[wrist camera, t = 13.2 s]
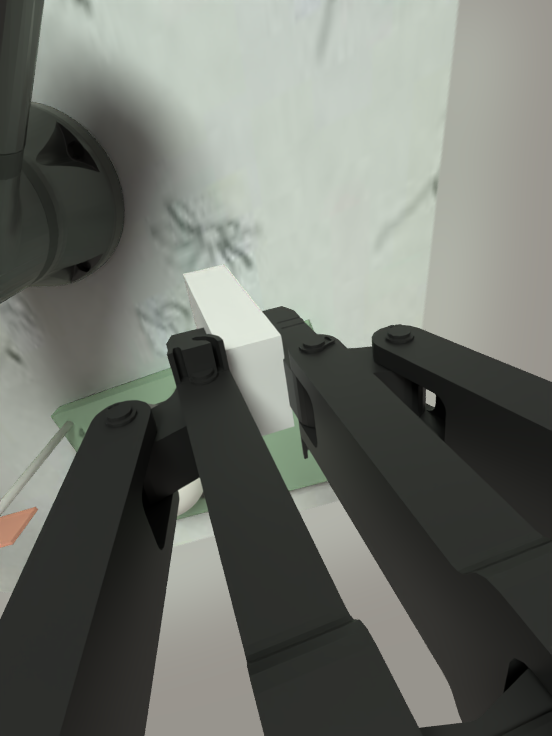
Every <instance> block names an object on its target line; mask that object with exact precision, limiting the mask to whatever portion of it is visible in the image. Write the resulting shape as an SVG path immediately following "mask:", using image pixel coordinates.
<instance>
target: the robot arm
mask: <svg viewBox="0 0 552 736" xmlns="http://www.w3.org/2000/svg"><path fill="white" fill-rule="evenodd" d="M43 6H44V0H0V303H2V302H4V301H5V300H7V299H8V298H10V297H12V296H13V295H15V294H17V293H18V292H20V291H22V290H23V289H25V288H26V287H41V286H61V285H66V284H70V283H73V282H76V281H78V280H81V279H83V278H85V277H86V276H88V275H89V274H91V273H92V272H94V271H95V270H97V269H98V268H99V267H101V266H102V265H103V264H104V263H105V262H106V261H107V260H108V259H109V258H110V256H111V255H112V254H113V252H114V251H115V249H116V247H117V245H118V243H119V240H120V237H121V234H122V230H123V224H124V201H123V195H122V190H121V186H120V183H119V180H118V177H117V174H116V172H115V169H114V167H113V165H112V163H111V161H110V160H109V158H108V156H107V155H106V153H105V152H104V150H103V149H102V147H101V146H100V145H99V143H98V142H97V141H96V140H95V138H94V137H93V136H92V135H91V134H90V133H89V132H88V131H87V130H86V129H85V128H84V127H82V126H81V125H80V124H79V123H78V122H76V121H75V120H73V119H72V118H71V117H69V116H67V115H66V114H64V113H62V112H60V111H58V110H56V109H54V108H52V107H49V106H46V105H43V104H39V103H35V102H31V98H32V91H33V83H34V75H35V68H36V60H37V52H38V45H39V37H40V29H41V22H42V14H43ZM183 276H184V280H185V284H186V288H187V292H188V296H189V300H190V304H191V308H192V312H193V316H194V320H195V324H196V328H197V329H195V330H191V331H188V332H184V333H180V334H176V335H172V336H171V337H170V339H169V341H168V342H167V344H166V345H167V349H168V352H167V356H168V359H169V363H170V366H171V370H172V373H173V377H174V380H175V384H176V389H175V391H174V393H173V394H172V395H171V396H170V397H169V398H168V399H167V400H166V401H164V402H163V403H161V404H159V405H157V406H155V407H153V408H151V407H150V406H149V405H148V404H147V403H146V402H143V401H139V400H127V401H123V402H117V403H115V404H113V405H110V406H108V407H106V408H105V409H103V410H102V411H101V412H99V413H98V414H97V415H96V416H95V417H94V419H93V420H92V421H91V423H90V425H89V427H88V429H87V432H86V434H85V436H84V438H83V440H82V443H81V445H80V447H79V449H78V451H77V453H76V456H75V458H74V460H73V462H72V464H71V466H70V469H69V471H68V473H67V475H66V477H65V479H64V482H63V484H62V486H61V488H60V490H59V493H58V495H57V497H56V499H55V501H54V503H53V506H52V508H51V510H50V512H49V514H48V516H47V519H46V521H45V523H44V525H43V527H42V530H41V532H40V534H39V536H38V538H37V540H36V543H35V545H34V547H33V549H32V551H31V553H30V556H29V558H28V560H27V562H26V564H25V566H24V569H23V571H22V573H21V575H20V577H19V580H18V582H17V584H16V586H15V588H14V590H13V593H12V595H11V597H10V599H9V602H8V604H7V606H6V608H5V610H4V612H3V615H2V617H1V619H0V736H144V735H145V728H146V721H147V715H148V708H149V701H150V695H151V688H152V681H153V675H154V668H155V661H156V655H157V648H158V641H159V634H160V627H161V620H162V613H163V607H164V601H165V594H166V586H167V581H168V574H169V567H170V560H171V553H172V547H173V540H174V534H175V527H176V520H177V513H178V507H179V500H180V499H179V492H178V490H179V489H181V488H183V487H185V486H186V485H188V484H190V483H191V482H193V481H195V480H196V479H198V478H200V481H201V485H202V488H203V492H204V496H205V500H206V504H207V508H208V512H209V516H210V520H211V523H212V527H213V531H214V535H215V538H216V543H217V546H218V551H219V555H220V558H221V562H222V566H223V570H224V574H225V577H226V581H227V585H228V589H229V593H230V597H231V601H232V605H233V609H234V613H235V616H236V621H237V625H238V628H239V632H240V636H241V640H242V644H243V648H244V652H245V656H246V660H247V668H248V672H249V677H250V681H251V685H252V689H253V693H254V696H255V700H256V705H257V709H258V712H259V716H260V720H261V724H262V728H263V732H264V736H552V382H550V381H548V380H545V379H543V378H540V377H538V376H535V375H533V374H531V373H528V372H526V371H523V370H521V369H518V368H515V367H513V366H511V365H508V364H506V363H503V362H501V361H498V360H496V359H494V358H491V357H489V356H486V355H484V354H481V353H479V352H476V351H474V350H471V349H469V348H466V347H464V346H462V345H459V344H457V343H454V342H452V341H449V340H447V339H444V338H442V337H439V336H437V335H434V334H432V333H429V332H427V331H425V330H422V329H420V328H416V327H413V326H406V325H400V324H399V325H395V326H394V325H391V326H388V327H385V328H382V329H380V330H378V331H376V332H375V333H374V334H373V336H372V347H362V348H346V347H345V346H344V345H343V344H342V343H341V342H340V341H339V340H338V339H336V338H335V337H333V336H329V335H324V334H316V333H315V332H314V331H313V330H312V329H311V328H310V327H309V326H308V325H307V324H306V323H305V322H304V321H303V319H302V318H300V316H299V315H298V314H297V313H296V312H295V311H294V310H291V309H289V308H286V307H283V306H281V307H277V308H273V309H269V310H265V311H261V310H260V308H259V307H258V306H257V305H256V303H255V302H254V301H253V300H252V298H251V297H250V296H249V295H248V293H247V292H246V291H245V290H244V288H243V287H242V286H241V285H240V283H239V282H238V281H237V280H236V278H235V277H234V276H233V275H232V273H231V272H230V271H229V270H228V268H227V267H226V266H225V265H220V266H215V267H211V268H207V269H202V270H198V271H194V272H189V273H185V274H183ZM426 389H427V390H429V391H431V392H433V393H435V394H436V405H435V407H432V406H430V405H428V404H426ZM292 410H293V412H294V413H295V415H296V416H297V418H298V422H299V429H300V436H301V443H302V450H303V456H304V459H307V458H308V450H310V452H311V454H312V455H313V457H314V459H315V460H316V462H317V464H318V465H319V467H320V469H321V470H322V472H323V474H324V475H325V477H326V479H327V480H328V482H329V484H330V485H331V487H332V489H333V490H334V492H335V494H336V495H337V497H338V499H339V500H340V502H341V504H342V505H343V507H344V509H345V510H346V512H347V514H348V515H349V517H350V518H351V520H352V522H353V524H354V525H355V527H356V529H357V530H358V532H359V534H360V535H361V537H362V539H363V540H364V542H365V544H366V545H367V547H368V549H369V550H370V552H371V554H372V555H373V557H374V559H375V560H376V562H377V564H378V565H379V567H380V569H381V570H382V572H383V574H384V575H385V577H386V579H387V580H388V582H389V583H390V585H391V587H392V589H393V590H394V592H395V594H396V595H397V597H398V599H399V600H400V602H401V604H402V605H403V607H404V609H405V610H406V612H407V614H408V615H409V617H410V619H411V620H412V622H413V624H414V625H415V627H416V629H417V630H418V632H419V634H420V635H421V637H422V639H423V640H424V642H425V644H426V645H427V647H428V649H429V650H430V652H431V654H432V655H433V657H434V659H435V660H436V662H437V664H438V665H439V667H440V668H441V670H442V672H443V673H444V675H445V677H446V679H447V681H448V683H449V685H450V688H451V690H452V693H453V696H454V699H455V703H456V706H457V709H458V713H459V715H460V718H461V720H462V723H457V724H449V725H440V726H431V727H423V728H419V727H418V726H417V723H416V721H415V719H414V717H413V715H412V714H411V712H410V710H409V708H408V706H407V704H406V702H405V700H404V698H403V696H402V694H401V692H400V690H399V688H398V686H397V684H396V682H395V680H394V679H393V676H392V674H391V673H390V671H389V669H388V667H387V665H386V663H385V661H384V659H383V657H382V655H381V653H380V651H379V649H378V647H377V645H376V643H375V642H374V640H373V638H372V636H371V635H370V633H369V631H368V629H367V628H366V627H365V625H364V624H363V623H362V622H361V621H360V620H356V619H355V620H354V619H353V618H352V617H351V616H350V614H349V612H348V611H347V609H346V607H345V605H344V603H343V601H342V599H341V597H340V595H339V593H338V591H337V589H336V586H335V584H334V582H333V580H332V578H331V576H330V574H329V572H328V570H327V568H326V566H325V564H324V562H323V560H322V558H321V556H320V554H319V552H318V550H317V548H316V546H315V544H314V541H313V539H312V538H311V535H310V533H309V531H308V529H307V527H306V525H305V523H304V521H303V519H302V517H301V515H300V513H299V511H298V509H297V507H296V505H295V503H294V501H293V498H292V496H291V494H290V492H289V490H288V488H287V486H286V484H285V482H284V480H283V478H282V476H281V474H280V472H279V470H278V468H277V466H276V464H275V462H274V460H273V458H272V456H271V453H270V451H269V449H268V447H267V445H266V443H265V441H264V439H263V437H262V436H265V435H268V434H271V433H274V432H278V431H281V430H284V429H287V428H291V427H294V419H293V412H292Z"/></svg>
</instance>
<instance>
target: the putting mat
mask: <svg viewBox="0 0 552 736" xmlns="http://www.w3.org/2000/svg"><path fill="white" fill-rule="evenodd" d="M304 322H305V323H306V324H307V325H308V326H309V327H310V328H311V329H312V330H313V328H312V325H311V323H310V320H306V321H304ZM313 331H314V330H313ZM175 389H176V384H175V380H174V377H173V373H172V370H171V368H169V369H166V370H163V371H160V372H157V373H155V374H152V375H149V376H146V377H143V378H140V379H137V380H135V381H132V382H129V383H126V384H123V385H120V386H117V387H114V388H112V389H109V390H106V391H103V392H100V393H97V394H94V395H92V396H89V397H86V398H83V399H80V400H77V401H74V402H72V403H69V404H66V405H63V406H60V407H59V408H58V409H57V410H56V411H55V412H54V414H53V415H52V416H51V418H52V419H53V420H54V422H55V423H56V424H57V426H58V427H59V428H60V430H59V431H58V432H57V433H56V435H55V436H54V437H53V438H52V439H51V441H50V442H49V443H48V444H47V445H46V447H45V448H44V449H43V450H42V451H41V453H40V454H39V455H38V456H37V457H36V459H35V460H34V461H33V462H32V463H31V465H30V466H29V467H28V468H27V469H26V471H25V472H24V473H23V474H22V475H21V477H20V478H19V479H18V480H17V481H16V483H15V484H14V485H13V486H12V487H11V489H10V490H9V491H8V492H7V493H6V495H5V496H4V497H3V498H2V499H1V501H0V516H1V514H2V513H3V512H4V511H5V509H6V508H7V507H8V506H9V505H10V503H11V502H12V501H13V500H14V498H15V497H16V496H17V495H18V493H19V492H20V491H21V490H22V488H23V487H24V486H25V485H26V483H27V482H28V481H29V480H30V478H31V477H32V476H33V475H34V473H35V472H36V471H37V470H38V468H39V467H40V466H41V465H42V463H43V462H44V461H45V460H46V458H47V457H48V456H49V455H50V453H51V452H52V451H53V450H54V448H55V447H56V446H57V445H58V443H59V442H60V441H61V440H62V438H63V437H64V436H65V437H66V438H67V439H68V441H69V442H70V444H71V445H72V446H73V448H74V449H75V450H76V452H77V451H78V449H79V447H80V445H81V443H82V440H83V438H84V436H85V434H86V432H87V429H88V427H89V425H90V423H91V421H92V420H93V419H94V417H95V416H96V415H97V414H98V413H99V412H101V411H102V410H103V409H105V408H106V407H108V406H110V405H113V404H115V403H117V402H123V401H127V400H139V401H143V402H146V403H147V404H148V405H149V406H150V407H151V408H153V407H155V406H157V405H159V404H161V403H163V402H164V401H166V400H167V399H168V398H169V397H170V396H171V395H172V394H173V393H174V391H175ZM292 412H293V410H292ZM293 419H294V427H291V428H287V429H284V430H281V431H278V432H274V433H271V434H268V435H265V436H262V437H263V439H264V441H265V443H266V445H267V447H268V449H269V451H270V453H271V456H272V458H273V460H274V462H275V464H276V466H277V468H278V470H279V472H280V474H281V476H282V478H283V480H284V482H285V484H286V486H287V488H288V490H289V491H290V490H294V489H298V488H302V487H306V486H310V485H314V484H318V483H322V482H326V481H328V480H327V479H326V477H325V475H324V474H323V472H322V470H321V469H320V467H319V465H318V464H317V462H316V460H315V459H314V457H313V455H312V454H311V452H310V450H308V458H307V459H304V456H303V450H302V443H301V436H300V429H299V422H298V418H297V416H296V415H295V413H294V412H293ZM37 510H38V509H37V508H36V507H34V508H30V509H27V510H23V511H20V512H16V513H13V514H9V515H6V516H2V517H0V548H1V547H5V546H8V545H12V544H14V542H15V541H16V539H17V538H18V537H19V535H20V534H21V532H22V531H23V530H24V528H25V527H26V526H27V524H28V523H29V521H30V520H31V519H32V517H33V516H34V514H35V513H36V512H37ZM204 512H208V508H207V504H206V500H205V496H204V492H203V493H202V495H201V497H200V498H199V500H198V501H197V502H196V504H195V505H194V506H193V507H192V508H190V509H189V510H188V511H186V512H185V513H183V514H181V515H179V516H177V519H181V518H185V517H189V516H193V515H196V514H200V513H204Z"/></svg>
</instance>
